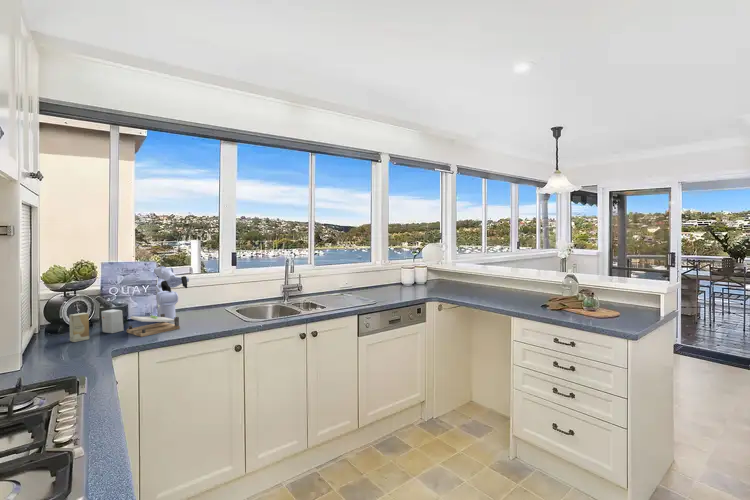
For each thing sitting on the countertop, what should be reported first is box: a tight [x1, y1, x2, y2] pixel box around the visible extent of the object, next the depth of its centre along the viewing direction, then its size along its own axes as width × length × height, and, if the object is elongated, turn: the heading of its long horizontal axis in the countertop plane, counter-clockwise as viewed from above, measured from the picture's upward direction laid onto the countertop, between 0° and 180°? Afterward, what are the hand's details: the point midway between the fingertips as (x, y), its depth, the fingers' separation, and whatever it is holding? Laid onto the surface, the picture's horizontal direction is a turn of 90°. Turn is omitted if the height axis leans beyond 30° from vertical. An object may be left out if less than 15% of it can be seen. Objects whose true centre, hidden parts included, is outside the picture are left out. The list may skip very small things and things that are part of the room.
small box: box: [100, 308, 124, 334], centre depth 189 cm, size 8×6×10 cm
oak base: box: [126, 314, 181, 338], centre depth 189 cm, size 16×18×6 cm
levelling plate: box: [129, 314, 175, 323], centre depth 189 cm, size 12×17×2 cm
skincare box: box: [68, 312, 90, 343], centre depth 174 cm, size 6×4×12 cm
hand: (178, 288), depth 194 cm, fingers open, 7 cm apart
